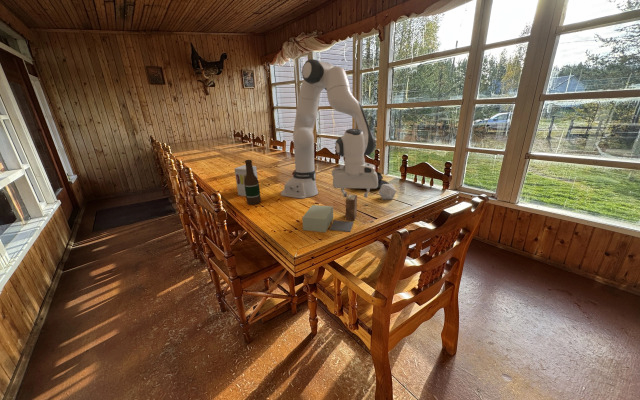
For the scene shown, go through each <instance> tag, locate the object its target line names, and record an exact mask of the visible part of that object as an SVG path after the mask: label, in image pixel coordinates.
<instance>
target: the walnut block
mask: <svg viewBox="0 0 640 400" xmlns="http://www.w3.org/2000/svg"><path fill="white" fill-rule="evenodd" d="M345 198H346V199H345V221H350V222H355V220H356V217H357V215H358V214H357V213H358V209H357V208H358V194H347V197H345Z"/></svg>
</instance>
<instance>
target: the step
mask: <svg viewBox="0 0 640 400" xmlns="http://www.w3.org/2000/svg"><path fill="white" fill-rule="evenodd" d="M301 218H302V219H301V220H302V230H303V231H307V232H310V231H311V232H319V233H326V232H327V231H328V229H329V228H330V225H331V224H332V223H333V221H334V220H333V219H334V206H331V205H316V204H312V205H311V206H310V208H309V209H308V210H307V211H306V212H305V213H304V215H303V216H302V217H301Z"/></svg>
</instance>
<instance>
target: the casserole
mask: <svg viewBox="0 0 640 400" xmlns="http://www.w3.org/2000/svg"><path fill="white" fill-rule="evenodd" d="M376 173H377V177H378V187H377V188H370V190H375V189H380V188H381V186H382V184H390V183H389V182H388V181H386V180H384V176H383V175H382V173H381V172H378V171H376ZM361 189H362V190H367V188H361Z"/></svg>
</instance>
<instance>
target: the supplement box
mask: <svg viewBox="0 0 640 400" xmlns="http://www.w3.org/2000/svg"><path fill="white" fill-rule="evenodd" d="M252 167H253V172H254V175H255V176H256V177H257V179H258V178H259V177H258V171H257V166H256V165H252ZM234 174H235V175H234V176H235V181H236V183H235V184H236V189H237V196H242V197H246V192H245V186H244V179H245V177H246V164H244V165H243V164H242V165H240V166H238V167H234Z"/></svg>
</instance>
